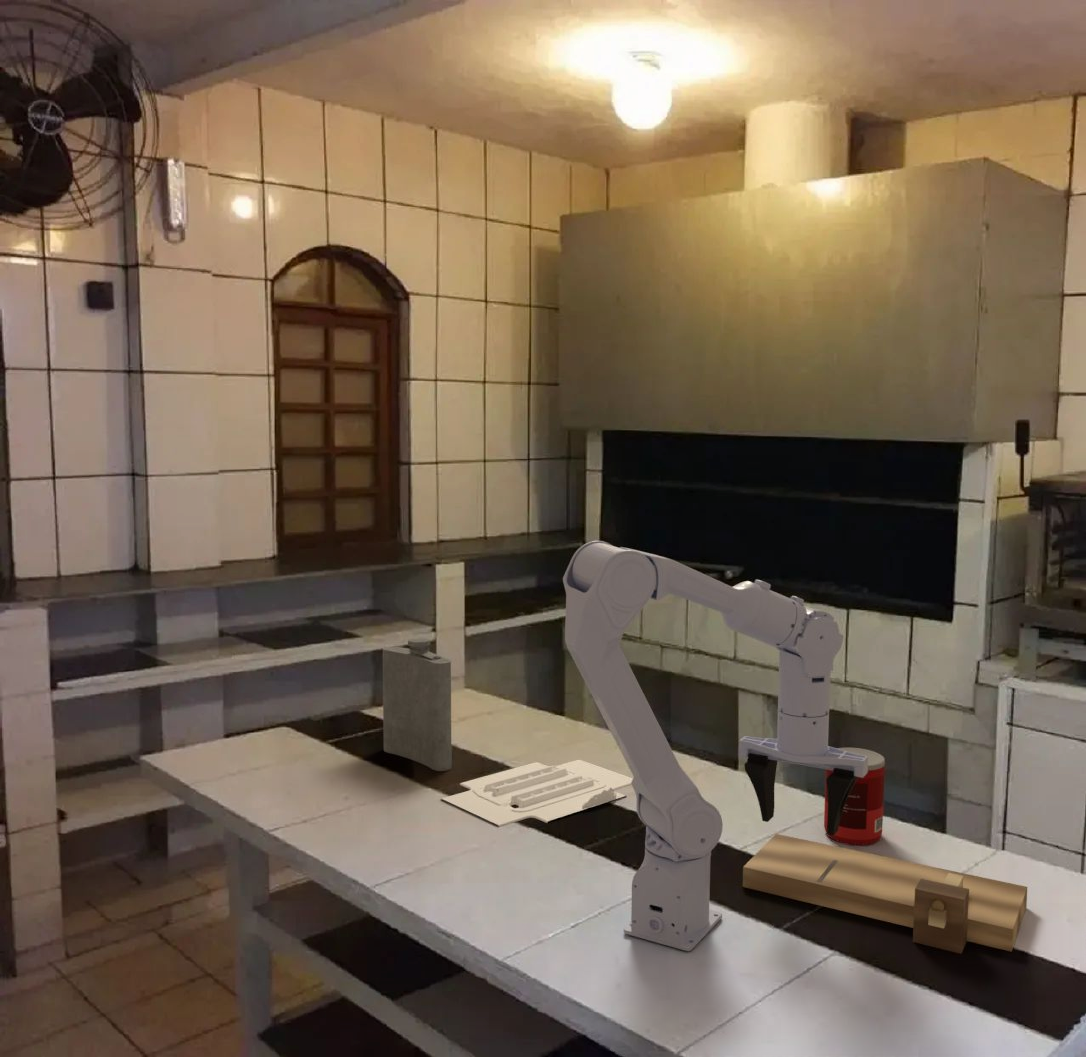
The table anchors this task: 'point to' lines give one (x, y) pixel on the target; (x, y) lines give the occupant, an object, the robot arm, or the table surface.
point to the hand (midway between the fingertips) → (799, 825)
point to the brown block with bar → (941, 913)
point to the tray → (539, 791)
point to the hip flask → (417, 704)
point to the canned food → (861, 804)
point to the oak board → (879, 886)
